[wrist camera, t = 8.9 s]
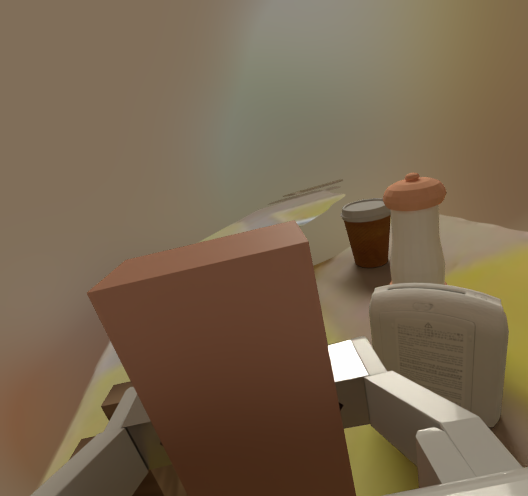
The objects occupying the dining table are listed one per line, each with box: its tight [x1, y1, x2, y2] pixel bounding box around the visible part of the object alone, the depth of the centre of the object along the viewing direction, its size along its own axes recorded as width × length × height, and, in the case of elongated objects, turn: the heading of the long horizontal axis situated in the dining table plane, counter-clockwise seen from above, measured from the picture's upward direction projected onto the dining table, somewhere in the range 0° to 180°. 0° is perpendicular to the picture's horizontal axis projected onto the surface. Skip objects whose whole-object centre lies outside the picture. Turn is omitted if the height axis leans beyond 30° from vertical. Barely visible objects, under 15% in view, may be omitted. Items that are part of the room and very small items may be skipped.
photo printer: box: [369, 283, 509, 427], centre depth 25 cm, size 10×4×12 cm, turn 58°
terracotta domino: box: [87, 220, 356, 496], centre depth 9 cm, size 2×5×11 cm, turn 92°
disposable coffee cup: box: [341, 198, 391, 268], centre depth 55 cm, size 10×10×12 cm
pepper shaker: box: [383, 173, 447, 285], centre depth 37 cm, size 7×7×19 cm
